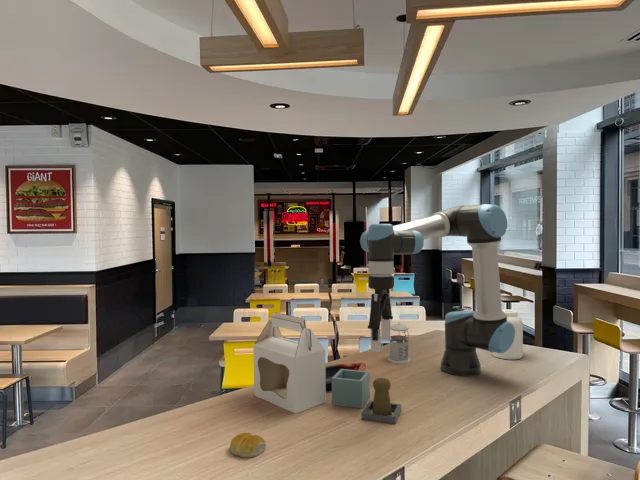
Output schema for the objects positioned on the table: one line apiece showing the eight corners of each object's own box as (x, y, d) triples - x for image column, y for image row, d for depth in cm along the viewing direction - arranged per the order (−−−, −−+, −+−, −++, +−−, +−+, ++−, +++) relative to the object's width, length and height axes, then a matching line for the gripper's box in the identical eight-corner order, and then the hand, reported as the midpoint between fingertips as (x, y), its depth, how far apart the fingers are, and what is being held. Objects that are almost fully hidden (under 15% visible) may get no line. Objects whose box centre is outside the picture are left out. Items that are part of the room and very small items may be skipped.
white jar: (519, 352, 202) (519, 308, 201) (525, 361, 190) (525, 313, 189) (489, 351, 205) (489, 307, 204) (493, 359, 193) (493, 312, 192)
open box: (369, 396, 152) (369, 371, 152) (362, 408, 143) (361, 381, 142) (341, 393, 155) (341, 368, 155) (331, 404, 146) (331, 378, 146)
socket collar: (401, 410, 140) (401, 404, 140) (395, 424, 131) (395, 417, 131) (369, 406, 144) (369, 400, 144) (361, 419, 134) (361, 412, 134)
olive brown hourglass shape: (391, 419, 134) (391, 383, 133) (371, 418, 135) (370, 381, 135) (392, 411, 140) (392, 376, 139) (372, 410, 141) (372, 375, 141)
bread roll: (244, 440, 123) (244, 425, 123) (270, 448, 118) (270, 433, 118) (222, 452, 116) (222, 437, 116) (249, 462, 111) (248, 446, 111)
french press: (383, 360, 193) (382, 301, 192) (397, 354, 202) (397, 298, 201) (403, 364, 187) (403, 304, 186) (417, 358, 196) (416, 300, 195)
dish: (287, 385, 165) (286, 371, 165) (354, 369, 182) (353, 357, 182) (309, 398, 152) (309, 383, 152) (379, 380, 169) (379, 367, 169)
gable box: (253, 395, 155) (252, 313, 154) (283, 385, 164) (282, 308, 163) (296, 414, 139) (294, 323, 138) (326, 402, 148) (325, 317, 147)
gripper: (378, 271, 149) (378, 335, 150) (357, 279, 126) (357, 355, 127) (400, 271, 147) (400, 337, 147) (384, 280, 123) (384, 357, 124)
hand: (381, 345), depth 137 cm, fingers open, 13 cm apart
